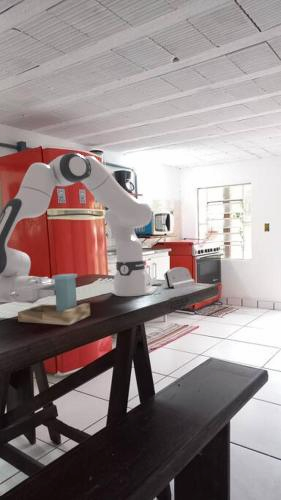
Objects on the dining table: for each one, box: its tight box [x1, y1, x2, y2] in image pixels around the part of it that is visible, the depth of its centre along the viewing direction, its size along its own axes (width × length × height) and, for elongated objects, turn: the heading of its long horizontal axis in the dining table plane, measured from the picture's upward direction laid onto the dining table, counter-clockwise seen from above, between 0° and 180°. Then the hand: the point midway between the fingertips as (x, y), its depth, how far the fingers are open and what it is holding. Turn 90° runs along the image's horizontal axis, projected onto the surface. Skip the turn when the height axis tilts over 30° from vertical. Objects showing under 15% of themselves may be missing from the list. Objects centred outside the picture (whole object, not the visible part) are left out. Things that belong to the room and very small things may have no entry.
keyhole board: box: [17, 302, 91, 326], centre depth 111 cm, size 12×19×4 cm, turn 67°
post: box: [51, 273, 78, 312], centre depth 109 cm, size 6×6×13 cm
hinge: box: [163, 266, 196, 290], centre depth 167 cm, size 17×5×10 cm, turn 135°
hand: (63, 290), depth 108 cm, fingers open, 8 cm apart
